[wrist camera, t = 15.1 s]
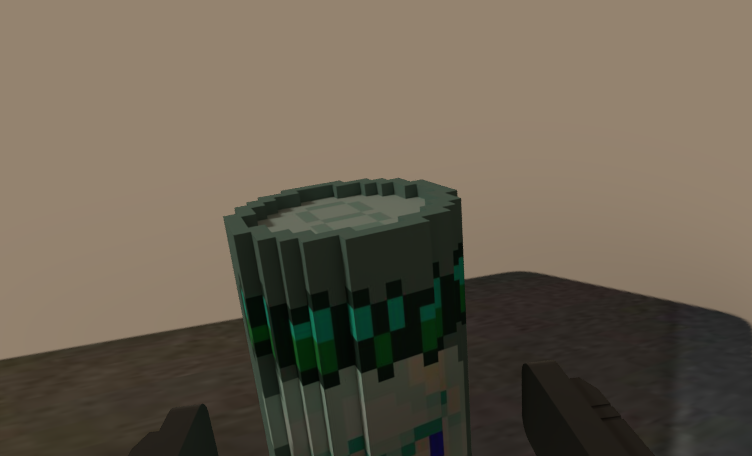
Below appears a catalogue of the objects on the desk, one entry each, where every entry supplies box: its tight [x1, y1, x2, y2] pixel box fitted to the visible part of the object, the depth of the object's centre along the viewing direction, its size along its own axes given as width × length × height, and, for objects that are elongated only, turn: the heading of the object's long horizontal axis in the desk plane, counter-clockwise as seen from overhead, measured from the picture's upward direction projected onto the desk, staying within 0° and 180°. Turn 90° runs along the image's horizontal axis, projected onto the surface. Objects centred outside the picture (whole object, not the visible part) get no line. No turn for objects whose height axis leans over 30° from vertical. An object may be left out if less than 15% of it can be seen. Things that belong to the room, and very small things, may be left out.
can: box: [223, 178, 472, 456], centre depth 15 cm, size 6×6×15 cm
